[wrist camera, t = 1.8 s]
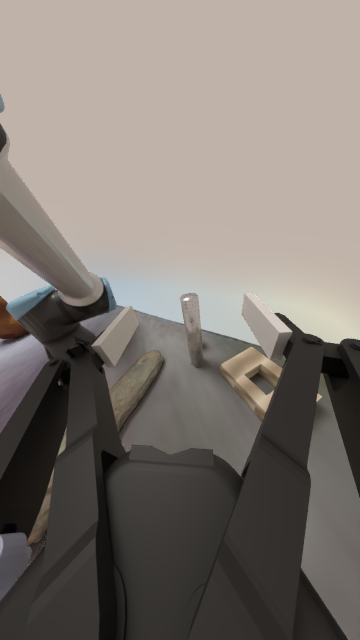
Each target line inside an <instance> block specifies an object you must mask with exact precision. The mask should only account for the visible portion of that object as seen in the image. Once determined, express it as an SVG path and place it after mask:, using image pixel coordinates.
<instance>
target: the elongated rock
mask: <svg viewBox="0 0 360 640" xmlns="http://www.w3.org/2000/svg"><path fill="white" fill-rule="evenodd" d="M163 361H164V357H162V356H161V354H160V352H159V351H155V350H154V351H151V352H149V353H147V354H145V355H144V356H142V357H141V358H140V359H139V360H137V362H136V363H135V364H134V365H133V366H132V367H131V368H130V369H129V370H128V371H127V372H126V373H125V374H124V375H123V376H122V377H121V378H120V379H119V380H118V381H117V382H116V384H115V385H114V386H113V387H112V388H110V390H109V394H110V398H111V402H112V407H113V411H114V416H115V420H116V425H117V429H118V432H119V431H120V428H121V427H122V425H123V423H124V422H125V421H126V419H127V417H128V416H129V414H131V412H132V411H133V410H134V409H135V407H136V405H137V404H138V403H139V400H140V399H141V398H143V396H144V394H145V392H146V391H147V389H148V388H149V386H150V384H151V382H152V381H153V379H154V378H155V377H156V375H157V374H158V372H159V370H160V368H161V367H162V362H163ZM65 446H66V434H65V435H64V437H63V439H62V442H61V446H60V449H59V452H58V455H59V454H60V453H62V452H63V451H64V450H65ZM57 457H58V456H57ZM53 473H54V469H53V472H52V475H51V479H50V482H49V485H48V489H47V492H46V495H45V498H44V501H43V504H42V507H41V510H40V512H39V515H38V517H37V520H36V522H35V525H34V527H33V529H32V532H31V534H30V536H29V538H28V540H27V545H26V547H28V546H29V545H30V544H31V543H37V542H38V541H39V540H40V539H41V538H42V537H43V535H44V534H45V531H46V529H47V526H48V517H49V509H50V500H51V491H52V482H53Z"/></svg>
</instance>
